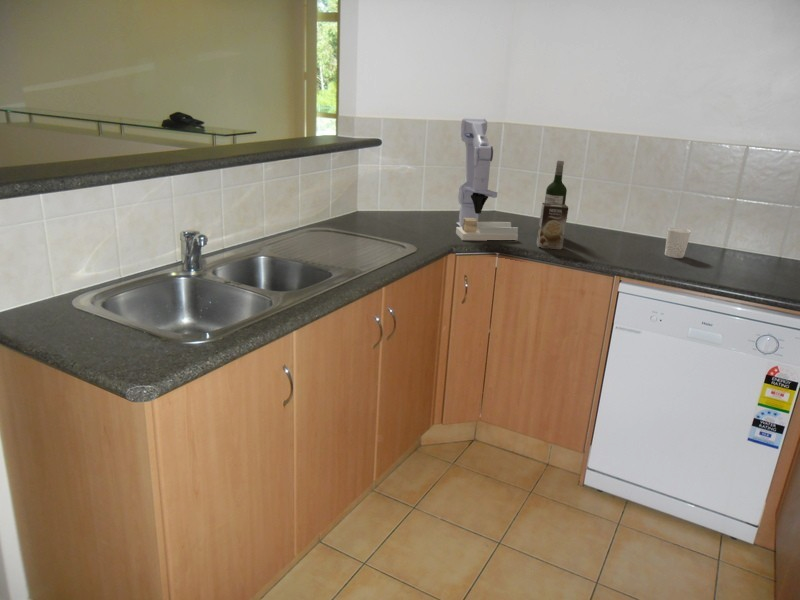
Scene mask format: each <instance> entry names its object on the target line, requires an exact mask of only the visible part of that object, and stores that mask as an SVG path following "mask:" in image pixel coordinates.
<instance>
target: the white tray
mask: <svg viewBox="0 0 800 600" xmlns="http://www.w3.org/2000/svg"><path fill="white" fill-rule="evenodd" d="M455 229H456V230H455V234H456V235H457V237H459V238H460V240H461V241H487V240H517V241H518V237H519V233H518V232H519V227H518V226H517V227H515V226H513V227H512V222H511V221H478V222H477V229H476V232H465V231H464V230H463V229H462V227H460V226H456V227H455Z"/></svg>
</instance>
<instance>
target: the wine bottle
mask: <svg viewBox="0 0 800 600" xmlns="http://www.w3.org/2000/svg"><path fill="white" fill-rule="evenodd" d="M564 164H565V162H564V160H559V159H558V160H557V161H556V164H555V165H556V167H555V172H554V179H553V181H552V182H551V183H550V184H549V185H547V187H546V189H545V198H544V203H552V204H563V205H566V199H567V192H568V191H567V187H566V186H565V184H564V183H563V173H564V166H565V165H564Z"/></svg>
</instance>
